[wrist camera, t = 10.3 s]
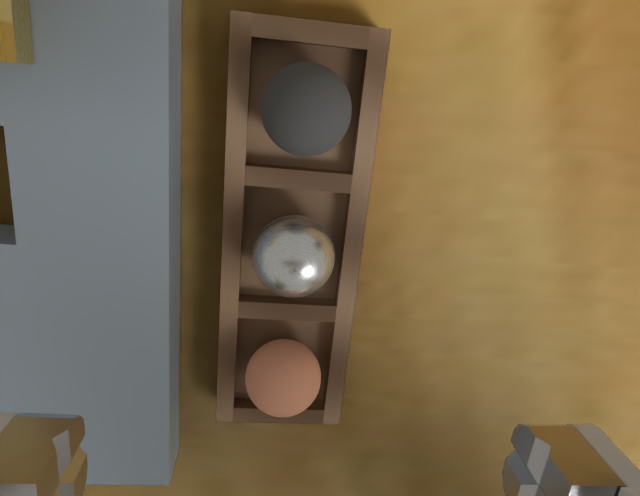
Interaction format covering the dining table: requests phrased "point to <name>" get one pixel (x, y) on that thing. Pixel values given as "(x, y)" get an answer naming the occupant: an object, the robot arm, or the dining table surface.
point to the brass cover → (15, 32)
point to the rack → (293, 204)
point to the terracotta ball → (283, 378)
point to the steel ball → (293, 256)
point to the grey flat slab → (96, 231)
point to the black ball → (306, 109)
